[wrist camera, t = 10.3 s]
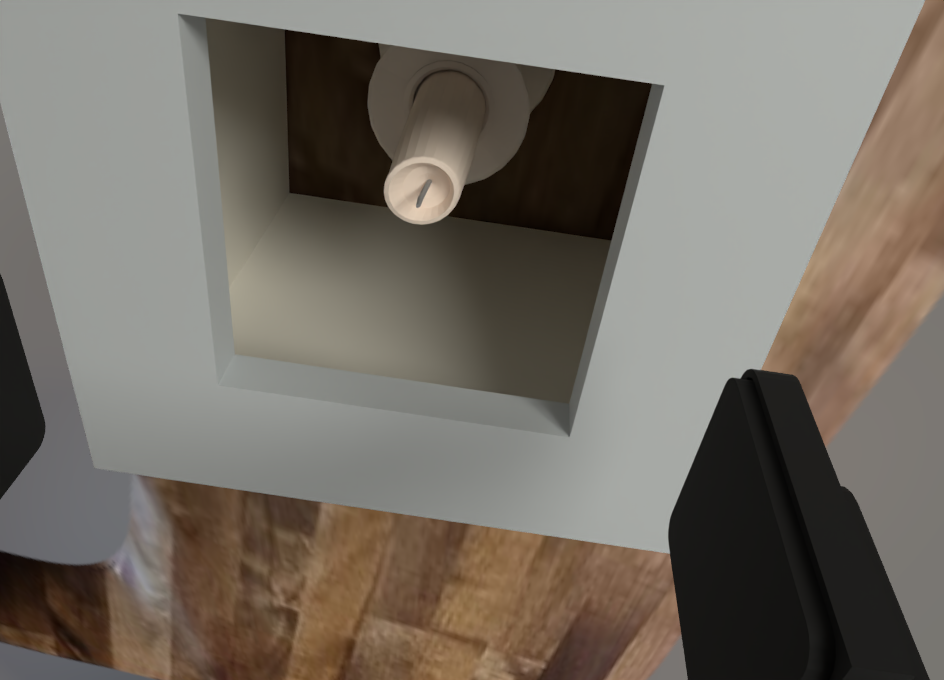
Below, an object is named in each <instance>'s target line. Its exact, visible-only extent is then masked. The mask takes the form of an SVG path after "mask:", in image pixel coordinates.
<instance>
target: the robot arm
mask: <svg viewBox="0 0 944 680" xmlns="http://www.w3.org/2000/svg"><path fill="white" fill-rule="evenodd" d="M44 434H45V421H44V417H43V414H42V410H41V407H40V403H39V400H38V397H37V393H36V390H35V386H34V383H33V380H32V376H31V373H30V370H29V366H28V363H27V359H26V356H25V353H24V349H23V346H22V343H21V339H20V336H19V333H18V329H17V326H16V323H15V319H14V316H13V312H12V309H11V306H10V302H9V299H8V296H7V292H6V289H5V286H4V282H3V279H2V277H1V275H0V499H1V498H2V496H3V495H4V494H5V492H6V491H7V490H8V488H9V487H10V486H11V485H12V483H13V482H14V481H15V479H16V478H17V477H18V475H19V474H20V473H21V471H22V470H23V469H24V467H25V466H26V465H27V463H28V462H29V460H31V458H32V457H33V456H34V454H35V453H36V452H37V450H38V449H39V447H40V446H41V443H42V441H43V438H44ZM668 542H669V550H670V557H671V564H672V571H673V578H674V585H675V592H676V599H677V606H678V613H679V620H680V627H681V634H682V640H683V648H684V654H685V662H686V669H687V676H688V680H930V679H929V677H928V675H927V672H926V670H925V667H924V664H923V662H922V660H921V657H920V655H919V652H918V650H917V647H916V645H915V642H914V640H913V638H912V635H911V633H910V630H909V628H908V625H907V623H906V620H905V618H904V615H903V613H902V610H901V608H900V606H899V603H898V601H897V598H896V596H895V594H894V591H893V588H892V586H891V583H890V582H889V579H888V576H887V574H886V571H885V569H884V566H883V564H882V561H881V559H880V557H879V554H878V552H877V549H876V547H875V545H874V542H873V539H872V537H871V534H870V532H869V529H868V527H867V525H866V522H865V520H864V517H863V515H862V512H861V510H860V507H859V505H858V503H857V501H856V500H855V498H854V496H853V494H852V493H851V492H850V491H849V490H848V489H846V488H845V487H842V486H840V483H839V481H838V479H837V476H836V473H835V471H834V468H833V465H832V463H831V460H830V458H829V456H828V453H827V450H826V448H825V445H824V443H823V440H822V437H821V435H820V432H819V430H818V427H817V425H816V422H815V420H814V417H813V415H812V412H811V410H810V407H809V404H808V402H807V399H806V397H805V394H804V392H803V389H802V387H801V384H800V382H799V380H798V379H797V377H795V376H794V375H790V374H783V373H777V372H770V371H763V370H756V369H748V370H746V371H745V372H744V373H743V375H742V377H741V379H739V378H730V379H729V380H728V381H727V382H726V384H725V386H724V388H723V391H722V393H721V396H720V398H719V401H718V403H717V405H716V408H715V410H714V413H713V415H712V417H711V420H710V422H709V425H708V427H707V429H706V432H705V434H704V437H703V439H702V441H701V444H700V446H699V449H698V451H697V454H696V456H695V458H694V461H693V463H692V466H691V468H690V470H689V473H688V475H687V478H686V480H685V482H684V485H683V487H682V490H681V492H680V495H679V497H678V499H677V502H676V504H675V507H674V509H673V511H672V514H671V517H670V522H669V529H668Z"/></svg>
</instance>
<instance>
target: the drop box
mask: <svg viewBox="0 0 944 680" xmlns="http://www.w3.org/2000/svg"><path fill="white" fill-rule="evenodd" d="M924 2H925V0H0V104H1V108H2V112H3V116H4V120H5V124H6V128H7V131H8V135H9V139H10V143H11V147H12V150H13V155H14V158H15V162H16V166H17V170H18V174H19V178H20V182H21V185H22V190H23V194H24V197H25V201H26V205H27V209H28V213H29V216H30V220H31V224H32V229H33V232H34V236H35V240H36V244H37V248H38V251H39V256H40V260H41V263H42V267H43V271H44V275H45V279H46V283H47V287H48V291H49V294H50V298H51V302H52V306H53V310H54V314H55V317H56V322H57V325H58V330H59V333H60V337H61V341H62V345H63V349H64V353H65V357H66V361H67V364H68V368H69V372H70V376H71V380H72V384H73V388H74V392H75V396H76V399H77V403H78V407H79V411H80V415H81V419H82V422H83V427H84V430H85V434H86V438H87V442H88V446H89V450H90V453H91V458H92V462H93V465H94V468H96V469H103V470H109V471H116V472H123V473H130V474H136V475H143V476H150V477H157V478H163V479H170V480H177V481H184V482H190V483H197V484H204V485H211V486H217V487H224V488H231V489H238V490H244V491H251V492H258V493H265V494H271V495H278V496H285V497H292V498H298V499H305V500H312V501H319V502H325V503H332V504H339V505H345V506H352V507H359V508H366V509H372V510H379V511H386V512H393V513H399V514H406V515H413V516H420V517H426V518H433V519H440V520H447V521H453V522H460V523H467V524H474V525H480V526H487V527H494V528H501V529H507V530H514V531H521V532H528V533H534V534H541V535H548V536H555V537H561V538H568V539H575V540H582V541H588V542H595V543H602V544H609V545H615V546H622V547H629V548H636V549H642V550H649V551H656V552H663V553H669V554H670V550H669V542H668V529H669V522H670V517H671V514H672V511H673V509H674V507H675V504H676V502H677V499H678V497H679V495H680V492H681V490H682V487H683V485H684V482H685V480H686V478H687V475H688V473H689V470H690V468H691V466H692V463H693V461H694V458H695V456H696V454H697V451H698V449H699V446H700V444H701V441H702V439H703V437H704V434H705V432H706V429H707V427H708V425H709V422H710V420H711V417H712V415H713V413H714V410H715V408H716V405H717V403H718V401H719V398H720V396H721V393H722V391H723V388H724V386H725V384H726V382H727V381H728V380H729V379H730V378H739V379H741V377H742V375H743V373H744V372H745V371H746V370H748V369H756V370H761V368H762V366H763V364H764V361H765V359H766V357H767V355H768V352H769V350H770V348H771V346H772V343H773V341H774V339H775V337H776V334H777V332H778V330H779V328H780V325H781V323H782V321H783V319H784V316H785V314H786V312H787V310H788V307H789V305H790V303H791V301H792V298H793V296H794V294H795V292H796V289H797V287H798V285H799V283H800V280H801V278H802V276H803V274H804V271H805V269H806V267H807V265H808V262H809V260H810V258H811V256H812V253H813V251H814V249H815V247H816V244H817V242H818V240H819V238H820V235H821V233H822V231H823V229H824V226H825V224H826V222H827V220H828V217H829V215H830V213H831V211H832V208H833V206H834V204H835V202H836V199H837V197H838V195H839V193H840V190H841V188H842V186H843V184H844V181H845V179H846V177H847V175H848V172H849V170H850V168H851V166H852V163H853V161H854V159H855V157H856V154H857V152H858V150H859V148H860V145H861V143H862V141H863V139H864V136H865V134H866V132H867V130H868V127H869V125H870V123H871V121H872V118H873V116H874V114H875V112H876V110H877V107H878V105H879V103H880V101H881V98H882V96H883V94H884V92H885V89H886V87H887V85H888V83H889V80H890V78H891V76H892V74H893V71H894V69H895V67H896V65H897V62H898V60H899V58H900V56H901V53H902V51H903V49H904V47H905V44H906V42H907V40H908V38H909V35H910V33H911V31H912V29H913V26H914V24H915V22H916V20H917V17H918V15H919V13H920V11H921V8H922V6H923V4H924ZM285 29H286V30H293V31H300V32H306V33H313V34H320V35H327V36H333V37H340V38H347V39H354V40H361V41H367V42H374V43H381V44H388V45H394V46H401V47H408V48H415V49H421V50H428V51H435V52H442V53H449V54H455V55H462V56H469V57H476V58H482V59H489V60H496V61H503V62H510V63H516V64H523V65H530V66H537V67H543V68H550V69H557V70H564V71H570V72H577V73H584V74H591V75H598V76H604V77H611V78H618V79H625V80H631V81H638V82H645V83H652V86H651V90H650V94H649V98H648V102H647V106H646V110H645V113H644V117H643V121H642V125H641V129H640V133H639V137H638V140H637V144H636V148H635V152H634V156H633V160H632V164H631V167H630V171H629V175H628V179H627V183H626V187H625V191H624V194H623V198H622V202H621V206H620V210H619V214H618V218H617V221H616V225H615V229H614V233H613V237H612V241H611V240H605V239H598V238H591V237H584V236H578V235H571V234H564V233H557V232H550V231H544V230H537V229H530V228H523V227H517V226H510V225H503V224H496V223H490V222H483V221H476V220H469V219H463V218H456V217H449V216H446V217H444V218H443V219H441V220H439V221H437V222H434V223H431V224H424V225H420V224H412V223H409V222H406V221H404V220H402V219H401V218H399V217H397V216H396V215H395V214H394V213H393V212H392V211H391V210H390V209H389V208H388V207H381V206H375V205H368V204H361V203H354V202H348V201H341V200H334V199H327V198H321V197H314V196H307V195H300V194H293V193H289V161H288V126H287V91H286V56H285Z"/></svg>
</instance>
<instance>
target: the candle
mask: <svg viewBox="0 0 944 680" xmlns="http://www.w3.org/2000/svg"><path fill="white" fill-rule="evenodd" d="M378 44H379V51H380V57H381V59H380V60H379V61H378V63H377V64H376V67H375V70H374V72H373V75H372V78H371V80H370V83H369V91H368V102H367V106H368V111H369V117H370V123H371V126H372V129H373V131H374V133H375V135H376V138H377V140H378V142H379V144H380V145H381V147H382V148H383V149H384V151H385V152H386V153H387V154H388V156H389V157H390V158H391V159H392V164H391V168H390V171H389V174H388V176H387V178H386V180H385V183H384V197H385V201H386V203H387V205H388V207H389V209H390V210H391V211H392V212H393V213H394V214H395V215H396V216H397V217H399V218H401V219H402V220H404V221H406V222H409V223H412V224H420V225H424V224H431V223H434V222H437V221H439V220H441V219H443V218H444V217H446V216H447V215H449V213H450V212H451V211H452V210H453V209H454V208H455V206H456V204H457V202H458V200H459V198H460V196H461V193H462V190H463V187H464V185H467V184H470V183H473V182H476V181H480V180H483V179H486V178H487V177H489V176H491V175H492V174H494V173H496V172H497V171H499V170H500V169H502V168H503V167H504V166H505V165H506V164H507V163H508V162H509V161H510V160H511V158H512V157H513V156H514V155H515V154H516V152H517V151H518V149H519V147H520V145H521V143H522V141H523V139H524V137H525V134H526V130H527V125H528V121H529V116H530V113H531V112H532V111H533V109H534V108H535V107H536V106H537V105H538V104H539V103H540V102H541V101H542V99H543V97H544V96H545V94H546V92H547V90H548V88H549V86H550V84H551V82H552V80H553V77H554V73H555V69H550V68H543V67H537V66H530V65H523V64H516V63H510V62H503V61H496V60H489V59H482V58H476V57H469V56H462V55H455V54H449V53H442V52H435V51H428V50H421V49H415V48H408V47H401V46H394V45H388V44H381V43H378Z"/></svg>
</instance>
